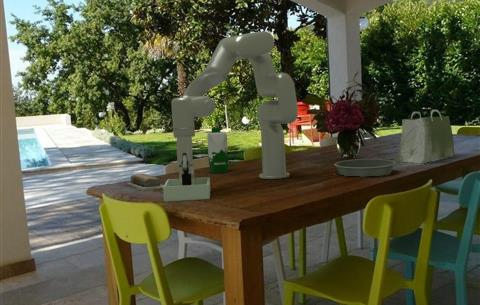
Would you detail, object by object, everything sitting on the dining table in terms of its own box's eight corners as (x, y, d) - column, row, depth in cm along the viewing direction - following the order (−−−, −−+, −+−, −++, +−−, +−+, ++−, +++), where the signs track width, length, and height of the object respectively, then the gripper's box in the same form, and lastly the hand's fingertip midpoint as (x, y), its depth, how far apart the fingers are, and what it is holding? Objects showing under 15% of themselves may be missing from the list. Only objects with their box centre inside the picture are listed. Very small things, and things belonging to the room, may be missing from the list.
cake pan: (356, 167, 235) (355, 157, 235) (407, 171, 218) (407, 160, 217) (322, 175, 218) (322, 164, 218) (375, 180, 201) (375, 169, 200)
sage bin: (168, 192, 197) (167, 179, 196) (210, 190, 197) (209, 177, 196) (163, 201, 181) (162, 187, 180) (209, 198, 182) (208, 184, 181)
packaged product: (125, 174, 218) (148, 172, 223) (126, 186, 218) (149, 183, 223) (141, 180, 202) (165, 176, 207) (142, 192, 203) (166, 189, 208)
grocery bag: (427, 154, 263) (427, 107, 260) (455, 156, 253) (455, 107, 250) (395, 163, 241) (394, 112, 238) (424, 165, 231) (423, 111, 228)
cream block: (181, 186, 191) (179, 165, 190) (195, 186, 191) (193, 164, 190) (180, 189, 186) (178, 167, 185) (194, 188, 186) (192, 166, 185)
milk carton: (226, 169, 246) (224, 126, 244) (230, 172, 238) (228, 128, 235) (208, 171, 245) (205, 128, 242) (211, 174, 236) (208, 129, 233)
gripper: (175, 131, 195) (178, 180, 197) (171, 135, 178) (175, 188, 180) (195, 130, 195) (199, 179, 197) (193, 134, 178) (197, 187, 180)
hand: (187, 183), depth 189 cm, fingers closed on cream block, 5 cm apart
